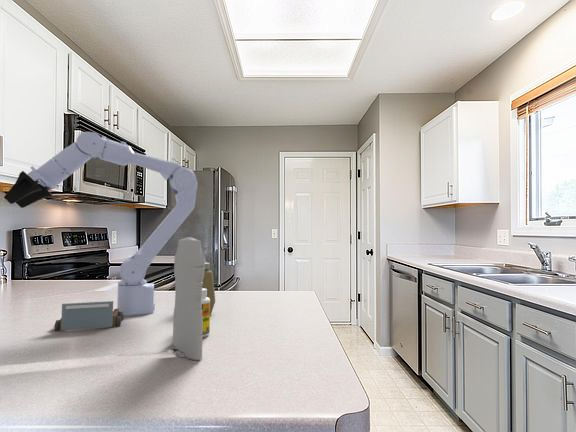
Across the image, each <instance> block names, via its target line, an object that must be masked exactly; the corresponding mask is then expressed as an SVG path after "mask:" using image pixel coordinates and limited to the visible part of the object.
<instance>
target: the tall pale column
mask: <svg viewBox="0 0 576 432" xmlns="http://www.w3.org/2000/svg"><path fill="white" fill-rule="evenodd" d="M202 250H203V249H202V243H201V239H200V240H199V239H196V238H194V237H190V236H189V237H185V238H182V239H178V243H177V250H176V253H175V255H174V266H173V273H174V277H175V278H174V280H175V281H174V283H175V288H174V289H175V291H174V294H175V295H174V309H173V317H172V318H173V321H172V322H173V323H172V324H173V325H172V345H173V346H174V347H175V348H173V349H172V351H173V352H174V351H175V352H174V353H175V357H178V358H184V359H187V358H188V360H190V361H196V362H198V361H199V362H200V361H203V338H202V332H203V318H202V285H203V282H202V280H203V278H204V270H205V258H206V257H205V258H204V257H203V255H202Z"/></svg>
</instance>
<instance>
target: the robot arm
mask: <svg viewBox="0 0 576 432" xmlns="http://www.w3.org/2000/svg"><path fill="white" fill-rule="evenodd" d="M97 158H98V159H100V160H102V161H105V162H109V163H112V164H116V165H119V166H122V167H126V166H127V165H130V164H132V165H136V166H138V167H141V168H144V169H146V170H150V171H154V172H156V173H159V174H160V175H161V176H162V177H163V179H164V180H165V181H168V179H169V186H170V188H171V190H172V192H173V193H174V196H175V203H176V205H174V207H173V208H172V209H171V211H170V212H169V213H168V214H167V215H166V217H165V218H164V219H163V220H162V221H161V223H160V224H159V225H158V226H157V227H156V228H155V229H154V230H153V232H152V233H151V235H149V237H148V238H147V239H146V240H145V242H143V244H142V245H141V247H140V248H138V250H137V251H136V252H135V253H134V254H133V255H132V256H131V257H129V258H127V259H125V260H124V261H123V262H122V263H121V265H120V268H119V275H120V278H121V280H120V281H117V299H116V300H117V302H116V304H117V307H116V309H119V312H123V316H136V315H147V314H148V315H149V314H150V315H151V314H154V311H155V306H156V305H155V304H156V303H154V300H155V299H154V296H155V283H151V282H150V283H147V282H148V281H147V280H146V279H145V276H146V274H147V270H148V268H149V267H150V265H151V264H152V262H153V261H154V259H155V257H156V256H157V255H158V254H159V252H161V250H162V249H163V248H164V247H165V245H166V243H168V241H169V240H170V239H171V238H172V237H173V235H174V234H175V233H176V231H177V230H178V229H179V228H180V227H181V225H182V224H183V223H184V222H185V221H186V219H187V218H189V216H190V215H191V213H192V212H193V211H194V210H195V207H196V202H197V201H196V199H197V189H198V185H199V183H198V179H197V176H196V173H195V172H194V171H193V170H192V169H191V168H190V167H189V168H188V167H186V166H185V167H183V165H181V164H180V163H179V164H178V163H176V162H172V161H169V160H164V159H161V158H158V157H154V156H151V155H147V154H142V153H138V152H135V151H134V150H133V149H132V147H131V146H130V145H127V142H125V141H120V142H118V141H115V140H111V139H108V138H107V137H106V136H104V135H99V134H98V133H96V132H94V131H93V132H91V131H85V132H82V133H80V134H79V135H77V137H76V141H74V142H73V143H71V144H70V145H68V146H66V147H65V148H64V149H62V150H60V151H59V152H58V153H57V154H55V155H54V156H53V157H52V158H50V159H49V160H48V161H46V162H45V163H43V164H42V165H40V166H39V167H37V168H35V167H34V166H32V165H31V167H30V169H31V171H29V172H28V173H26V172H25V171H24V170H22V171H21V172H19V173H18V178H17V179H16V181H15V183H14V184H13V185H12V187H11V188H10V189H9V190H8V191H7V192H6V194H5V195H4V196H3V198H4V199H5V200H6V201H7V202H8V203H9V204H11V205H13V204H15V203H16V205H18V206H19V207H20V208H21V209H23V208H24V209H25V208H26V207H29V206H30V205H32V204H35V203H36V202H38V201H41V200H44V199H47V198H51V197H53V194H52V193H51V191H52V190H54V189H56V187H57V186H59V185H60V184H61V183H62V182H63V181H65V180H66V179H68V178H69V177H70V176H71V175H73V174H74V173H75V172H77V171H78V170H79V169H80V168H81V167H83V166H84V165H85V164H86V163H87V162H88V161H90V160H91V159H97Z"/></svg>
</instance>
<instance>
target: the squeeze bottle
mask: <svg viewBox="0 0 576 432" xmlns="http://www.w3.org/2000/svg"><path fill="white" fill-rule="evenodd" d="M201 250H202V255H203V257H204V258H205V270H204V278H203V280H202V282H203V285H202V288H205V289H207V296H206V297H208V298H210V315H212V312H213V310H214V306H215V303H216V294H215V282H214V280H215V279H214V272H213V271H212V270H210V269H211V268H210V267H211V264H210V262H207V259H206V255H205V254H206V253H205V250H204V249H201Z"/></svg>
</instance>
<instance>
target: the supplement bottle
mask: <svg viewBox="0 0 576 432" xmlns="http://www.w3.org/2000/svg"><path fill="white" fill-rule="evenodd" d="M206 296H207V289H205V288H202V318H203V332H202V339H203V338H206V337H208V336H209V335H210V329H211V328H210V326H211V325H210V324H211V323H210V322H211V314H210V298H208V297H206Z"/></svg>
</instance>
